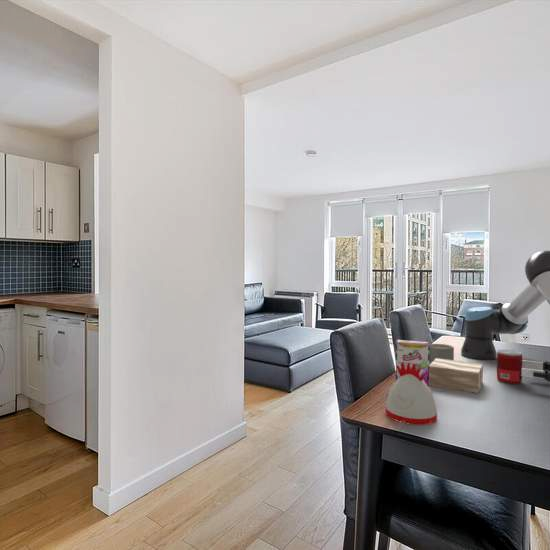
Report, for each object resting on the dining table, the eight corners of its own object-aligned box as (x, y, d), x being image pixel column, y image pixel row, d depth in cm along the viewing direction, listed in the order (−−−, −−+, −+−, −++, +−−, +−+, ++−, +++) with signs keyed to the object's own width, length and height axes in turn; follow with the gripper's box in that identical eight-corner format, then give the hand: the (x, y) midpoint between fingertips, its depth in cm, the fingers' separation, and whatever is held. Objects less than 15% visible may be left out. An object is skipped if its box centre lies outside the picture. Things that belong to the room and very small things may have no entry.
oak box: (436, 375, 146) (436, 358, 146) (482, 382, 137) (482, 364, 137) (428, 385, 135) (428, 365, 135) (478, 393, 126) (478, 372, 126)
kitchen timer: (399, 402, 117) (399, 355, 117) (444, 414, 108) (444, 363, 108) (377, 415, 107) (377, 363, 107) (424, 429, 98) (425, 372, 98)
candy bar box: (395, 388, 131) (395, 341, 131) (395, 384, 136) (395, 339, 135) (429, 391, 127) (429, 344, 127) (428, 387, 132) (429, 341, 132)
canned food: (525, 384, 135) (526, 354, 135) (501, 383, 137) (501, 353, 137) (516, 378, 143) (516, 350, 142) (493, 377, 144) (494, 349, 144)
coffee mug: (454, 368, 156) (454, 345, 156) (453, 374, 148) (453, 349, 148) (420, 364, 163) (420, 342, 163) (417, 370, 154) (417, 346, 154)
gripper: (603, 399, 115) (521, 386, 127) (591, 379, 135) (522, 370, 147) (604, 374, 115) (521, 364, 126) (592, 358, 135) (522, 351, 147)
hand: (521, 367), depth 137 cm, fingers open, 13 cm apart
